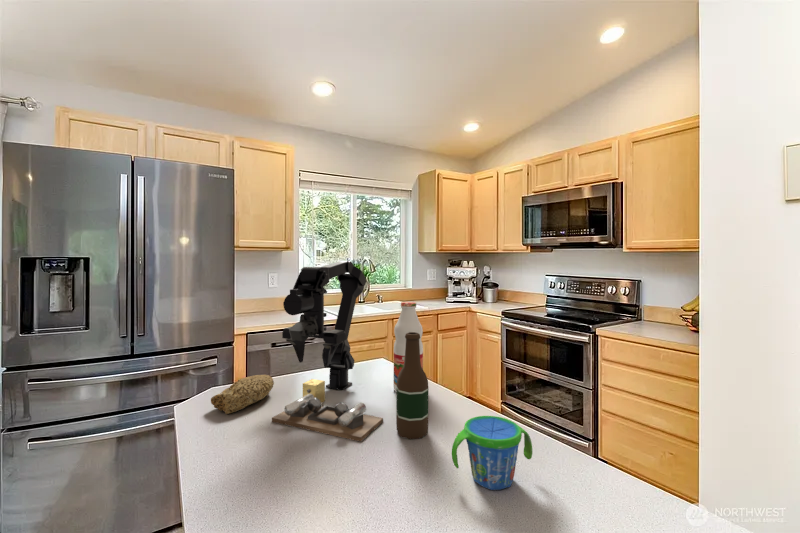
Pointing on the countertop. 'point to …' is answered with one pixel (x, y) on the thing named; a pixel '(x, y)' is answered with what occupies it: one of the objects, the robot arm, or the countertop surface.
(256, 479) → the countertop surface
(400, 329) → the fruit juice
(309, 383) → the block
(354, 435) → the padlock latch board
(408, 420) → the beer bottle
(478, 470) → the snack cup
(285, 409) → the shafts
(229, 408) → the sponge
